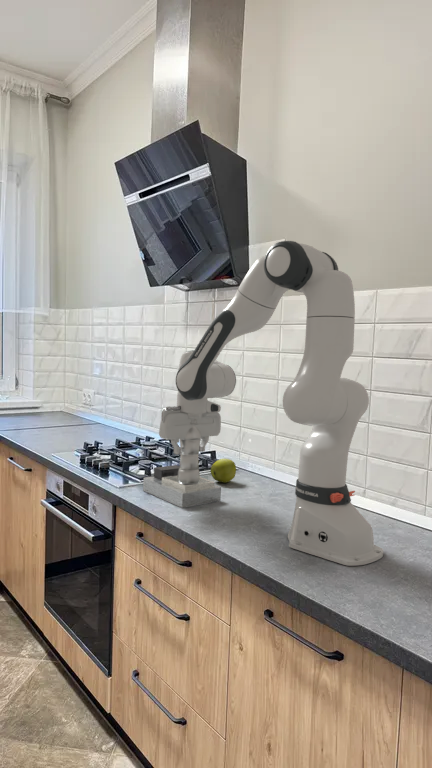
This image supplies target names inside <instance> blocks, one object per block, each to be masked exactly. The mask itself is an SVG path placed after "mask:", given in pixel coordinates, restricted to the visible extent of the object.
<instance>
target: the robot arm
mask: <svg viewBox="0 0 432 768" xmlns="http://www.w3.org/2000/svg"><path fill="white" fill-rule="evenodd" d="M289 290H291V291H295V292H297V293H303V295H304V297H305V298H306V323H305V324H306V325H305V339H304V340H305V343H304V351H303V355H302V360H301V363H300V365H299V368H298V370H297V373H296V375H295V377H294V379H293V381H292V382H291V383H290V384H289V385H288V386H287V387H286V389H285V391H284V393H283V396H282V408H283V411H284V413H285V415H286V416H287V418H288V419H290V421H292V422H293V423H295V424H299V425H302V426H303V425H304V426H309V427H312V428H311V430H310V433H309V436H308V437H307V439H305V441H304V442H303V443H302V445H301V446H300V449H299V460H298V461H299V463H298V464H299V465H298V474H297V475H298V477H297V479H296V482H295V488H294V489H295V490H294V491H295V492H294V494H295V497H296V499H295V506H294V513H293V517H292V521H291V524H290V528H289V529H288V530H289V531H288V534H287V540H288V541H289V542H288V547H289V548H290V549H294V550H296V551H300V552H303V553H306V554H310V555H312V556H316V557H320V558H322V559H324V560H328V561H331V562H335V563H338V564H340V565H344V566H350V567H353V566H363V565H367V564H371V563H374V562H376V561H379V560H380V559H382V558H383V556H384V549H383V548H382V547H380V546H378V545H376V544H374V543H375V541H374V539H375V538H374V530H373V527H372V525H371V524H370V522H369V521H368V520H366V517H364V516H363V515H362V514H361V513H360V512H359V510H358V509H357V508H356V507H355V505H353V503H352V502H351V501H352V499H351V497H354V496H355V494H354V493H355V492H356V490H351V491H349V488H348V485H347V483H346V480H347V470H348V468H347V467H348V458H349V451H350V447H351V443H352V441H353V437H354V434H355V431H356V428H357V426H358V423H359V422H360V421H361V420H360V419H361V418H362V417H363V416H364V415H365V414H366V412H367V410H368V408H369V404H370V403H369V402H370V399H369V398H370V397H369V394H368V391H367V389H366V387H365V386H363V385H362V384H361V383H360V382H357V381H355V380H352V379H350V378H346V377H341V376H342V373H343V370H344V368H345V364H346V362H347V361H348V360H349V358H351V356H352V354H353V352H354V347H355V346H354V344H355V323H356V322H355V321H356V320H355V318H356V311H355V308H356V306H355V305H356V304H355V302H356V301H355V295H354V294H355V293H354V285H353V281H352V279H351V277H350V276H349V275H348V274H347V273H345V272H344V271H341V270H339V266H338V264H337V262H336V260H335V259H334V258H333V257H332V256H331V255H330V254H328V253H326V252H324V251H321V250H319V249H317V248H315V247H313V246H311V245H308V244H304V243H299V242H296V241H294V240H283V241H278V242H275V243H274V244H272V245H271V246H270V247H269V248H268V250H267V251H266V253H265V256H261V257H258V258H257V259H256V260H255V261H254V262H253V264H252V265H251V266H250V268H249V270H248V271H247V273H246V274H245V276H244V278H243V279H242V281H241V282H240V284H239V286H238V289H237V290H236V292H235V295H234V296H233V298H232V299H231V301H229V303H228V304H227V306H226V307H225V308H224V309H223V310H222V311H220V313H218V314H217V316H215V318H214V319H213V320H212V321H211V323H210V324H209V326H208V328H206V331H205V333H204V334H203V335H202V337H201V338H200V340H199V342H198V344H197V346H196V347H195V348H194V349H192V350H187V351H185V352H183V353H182V354H181V356H180V359H179V365H178V370H177V373H176V376H175V387H176V389H177V396H176V406H166V407H165V408H163V410H162V411H161V417H160V424H159V430H158V434H159V435H158V436H159V437H160V438H161V439H163V440H167V441H169V440H170V443H171V445H172V447H173V454H174V455H181V449H182V448H180V445H179V444H180V439H183V438H186V435H187V432H188V431H189V429H190V428H191V427H193V426H195V427H197V428H198V429H199V431H200V433H201V440H200V446H199V453H203V452H205V451H206V446H207V444H208V442H209V440H210V439H209V438H210V437H217V436H219V435H220V433H221V427H222V417H221V414H220V412H221V409H222V408H221V407H222V406H221V405H220V404H218V403H215V402H213V401H210V400H208V399H214V398H215V399H217V398H226V397H228V396H230V395H231V394H232V393H233V392H234V390H235V388H236V384H237V376H236V373H235V371H234V369H233V368H232V366H230V365H229V364H225V363H223V362H221V361H218V359H217V358H218V357H219V355H220V354H221V352H222V351H223V349H224V348H225V346H226V345H227V344H228V343H229V342H231V341H233V340H234V339H236V338H239V337H240V336H243V335H246V334H251V333H254V332H257V331H259V330H261V329H262V328H264V327H265V326H266V325H267V323H268V322H269V321H270V320H271V318H272V316H273V314H274V313H275V311H276V308H277V306H278V304H279V303H280V301H281V299H282V297H283V296H284V294H285V293H286V292H288V291H289ZM191 419H197V424H193V425H192V424H190V422H191Z"/></svg>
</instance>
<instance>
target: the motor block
mask: <svg viewBox="0 0 432 768" xmlns="http://www.w3.org/2000/svg"><path fill="white" fill-rule="evenodd" d="M179 467H180V465H177V464H172V465H166V466H165V465H163V466H158V467H154V470H153V476H147V477H143V484H142V485H143V486H142V488H143V489H142V491H143V492H145V493H148V494H150V495H152V496H154V497H157V498H159V499H161V500H164V501H166V502H168V503H170V504H173V505H175V506H177V507H179V508H182V509H184V508H188V507H195V506H200V505H204V504H210V503H215V502H221V499H222V497H221V496H222V486H221V487H220V486H219V485H216V484H215V481H212V480H209V479H207V478H205V477H201V476H200V478H199V482H198V483H197V484H193V485H183V484H181V483H179V481H178V471H179Z"/></svg>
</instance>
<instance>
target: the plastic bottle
mask: <svg viewBox="0 0 432 768" xmlns="http://www.w3.org/2000/svg"><path fill="white" fill-rule="evenodd" d="M190 424H192V425H193V424H197V419H191V422H190ZM201 441H202V439H201V433H200V431H199V429H198V428H197V427H195V426H193V427H191V428H190V429H189V431H188V432H187V435H186V438H183V439H179V448H182V449H181V454H180V459H179V466H180V467H179V471H178V481H179V483H181V484H183V485H193V484H197V483H198V482H199V478H200V477H201V474H200V466H199V465H200V463H199V453H200V452H199V446H200V443H201Z"/></svg>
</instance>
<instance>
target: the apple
mask: <svg viewBox="0 0 432 768" xmlns="http://www.w3.org/2000/svg"><path fill="white" fill-rule="evenodd" d="M237 470H238V469H237V466H236V463H235V462H234V461H233V460H232V459H229V458H220V459H218V460H216V461H215V462H214V463H213V464H212V465H211V467H210V470H209V472H210V474H211V477H212V479H213V480H214V481H216V482H218V483H223V484H224V483H229V482H231V481H233V479H234V478H235V477H236V474H237Z"/></svg>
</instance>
